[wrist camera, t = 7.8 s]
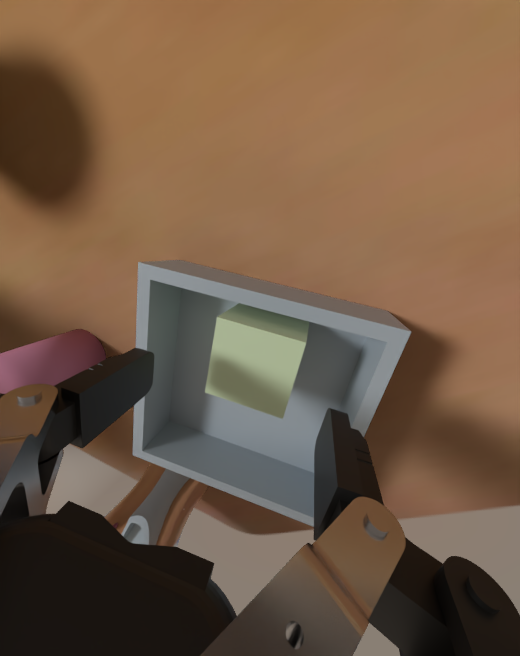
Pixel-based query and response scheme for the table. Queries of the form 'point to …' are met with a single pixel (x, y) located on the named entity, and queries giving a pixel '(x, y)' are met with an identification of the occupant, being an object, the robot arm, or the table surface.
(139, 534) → the beer glass
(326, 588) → the robot arm
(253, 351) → the sage block
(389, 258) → the table surface
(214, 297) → the tub
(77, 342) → the plum cylinder
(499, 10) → the table surface
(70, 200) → the table surface
